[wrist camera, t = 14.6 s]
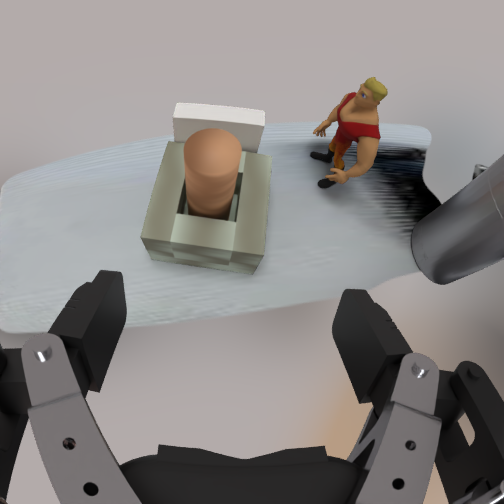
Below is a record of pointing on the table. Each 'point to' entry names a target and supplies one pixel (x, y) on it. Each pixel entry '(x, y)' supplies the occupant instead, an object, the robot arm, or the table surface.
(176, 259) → the socket block
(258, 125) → the backstop wall
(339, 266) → the table surface
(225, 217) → the dowel
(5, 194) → the table surface
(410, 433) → the robot arm
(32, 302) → the table surface
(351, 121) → the action figure
